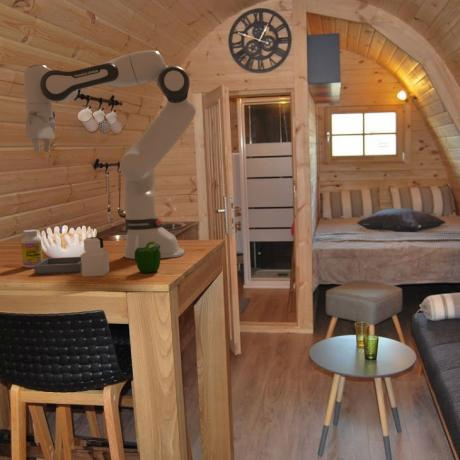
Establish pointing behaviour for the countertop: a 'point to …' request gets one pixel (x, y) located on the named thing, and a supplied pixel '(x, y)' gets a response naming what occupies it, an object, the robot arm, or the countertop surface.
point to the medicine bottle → (94, 258)
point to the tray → (58, 266)
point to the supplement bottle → (31, 249)
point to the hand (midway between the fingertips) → (42, 152)
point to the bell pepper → (148, 258)
